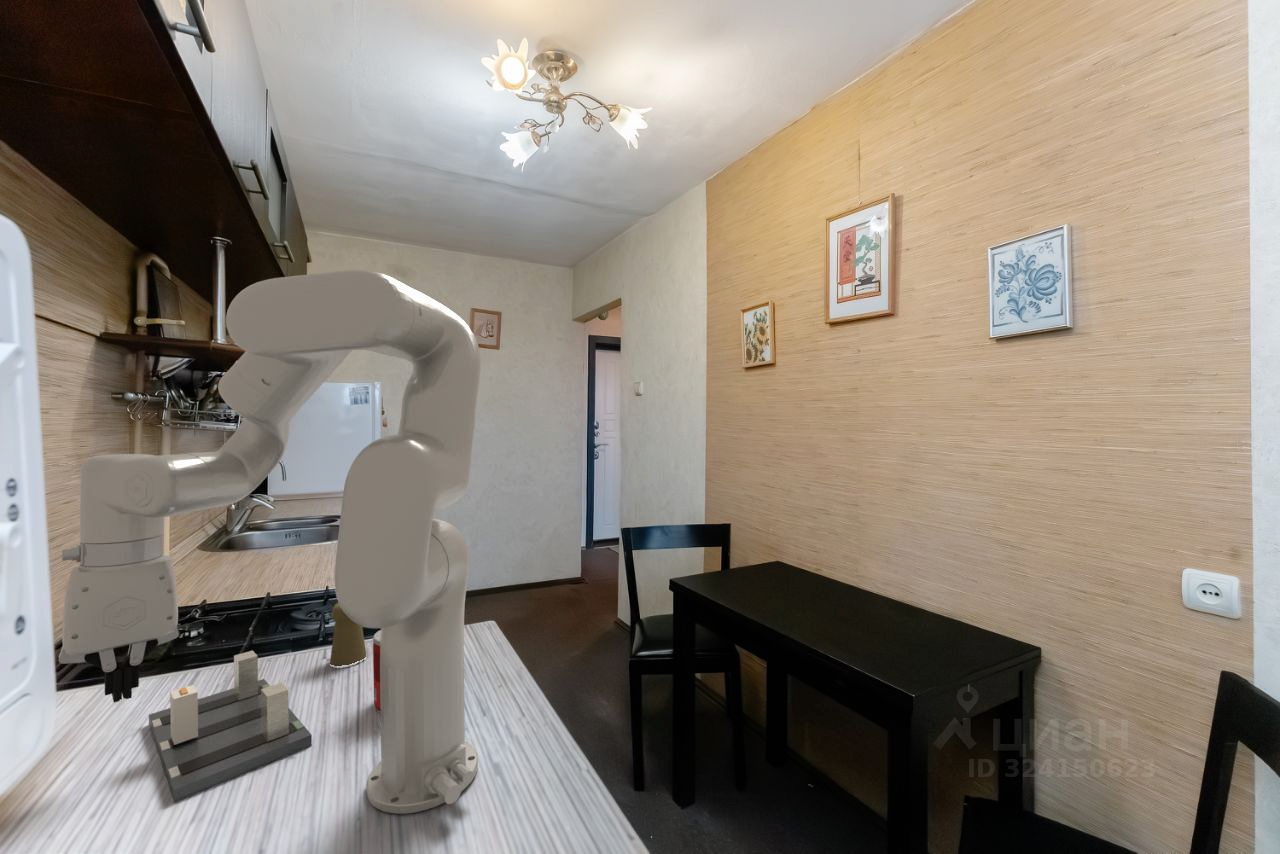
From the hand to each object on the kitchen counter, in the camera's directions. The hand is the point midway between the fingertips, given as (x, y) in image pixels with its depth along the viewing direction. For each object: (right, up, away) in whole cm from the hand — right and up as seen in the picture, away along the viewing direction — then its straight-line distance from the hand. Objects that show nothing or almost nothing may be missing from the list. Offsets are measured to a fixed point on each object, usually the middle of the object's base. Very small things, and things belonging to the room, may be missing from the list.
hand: (121, 696), depth 65 cm
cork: (+12, -10, +30) cm, 34 cm away
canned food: (+28, -9, +16) cm, 34 cm away
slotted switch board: (+7, -9, +7) cm, 14 cm away
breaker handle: (+4, -8, +4) cm, 10 cm away
